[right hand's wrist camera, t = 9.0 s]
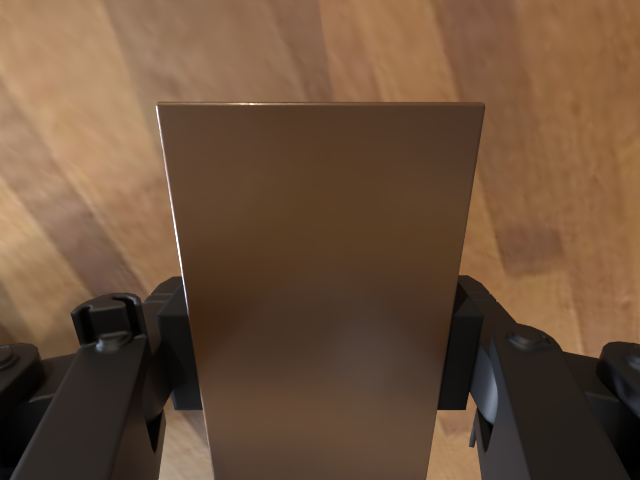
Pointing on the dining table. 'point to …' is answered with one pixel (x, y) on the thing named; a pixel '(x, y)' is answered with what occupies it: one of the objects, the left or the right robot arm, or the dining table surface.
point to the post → (320, 277)
